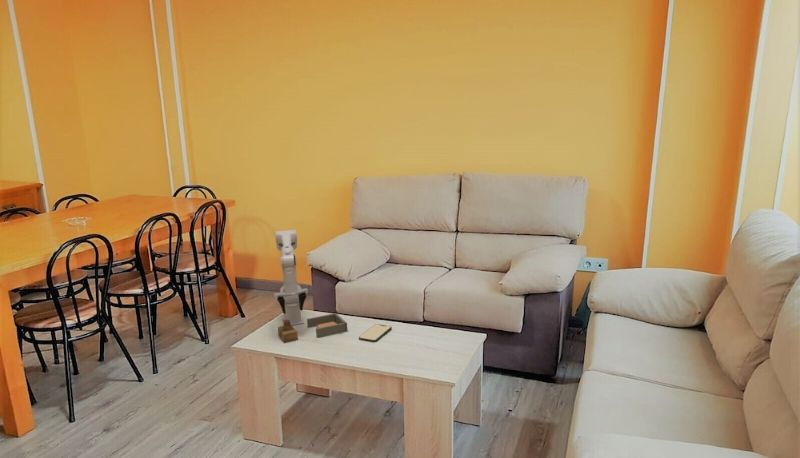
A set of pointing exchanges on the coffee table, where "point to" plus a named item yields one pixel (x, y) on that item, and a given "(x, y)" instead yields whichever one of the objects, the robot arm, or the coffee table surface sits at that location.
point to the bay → (328, 330)
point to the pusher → (287, 332)
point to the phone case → (375, 333)
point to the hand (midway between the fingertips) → (292, 311)
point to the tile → (325, 324)
